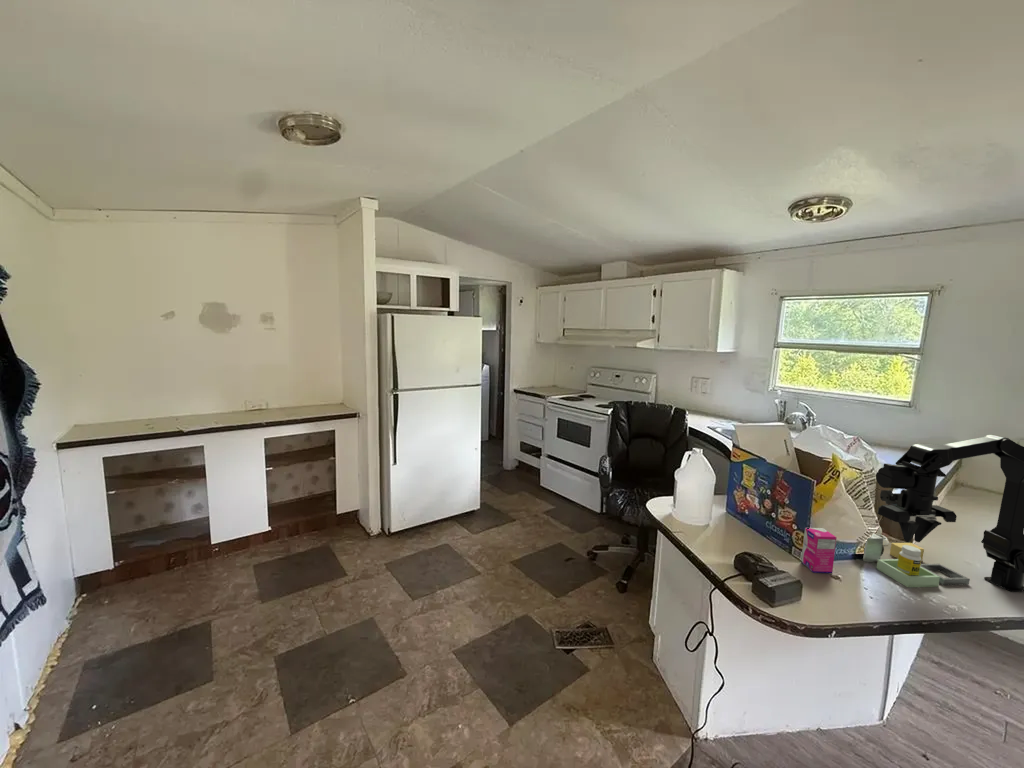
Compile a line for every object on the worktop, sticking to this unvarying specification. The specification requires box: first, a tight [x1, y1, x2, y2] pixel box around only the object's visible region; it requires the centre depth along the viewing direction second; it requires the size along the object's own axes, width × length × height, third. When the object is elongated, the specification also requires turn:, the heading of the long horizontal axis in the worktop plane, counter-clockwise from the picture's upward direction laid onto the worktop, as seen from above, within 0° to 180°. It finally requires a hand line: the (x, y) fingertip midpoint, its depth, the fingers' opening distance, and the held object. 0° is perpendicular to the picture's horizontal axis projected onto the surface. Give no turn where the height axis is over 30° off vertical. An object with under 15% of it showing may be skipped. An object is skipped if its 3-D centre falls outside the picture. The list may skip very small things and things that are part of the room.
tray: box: [876, 558, 940, 588], centre depth 124 cm, size 9×9×3 cm
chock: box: [889, 542, 925, 562], centre depth 136 cm, size 7×4×4 cm, turn 95°
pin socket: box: [920, 563, 971, 586], centre depth 125 cm, size 8×8×2 cm
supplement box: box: [800, 527, 837, 574], centre depth 127 cm, size 6×6×12 cm
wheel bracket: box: [862, 534, 885, 563], centre depth 134 cm, size 7×5×9 cm, turn 95°
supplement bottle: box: [897, 545, 922, 576], centre depth 124 cm, size 5×5×8 cm
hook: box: [876, 525, 890, 546], centre depth 148 cm, size 8×12×7 cm
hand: (911, 541), depth 123 cm, fingers open, 3 cm apart
